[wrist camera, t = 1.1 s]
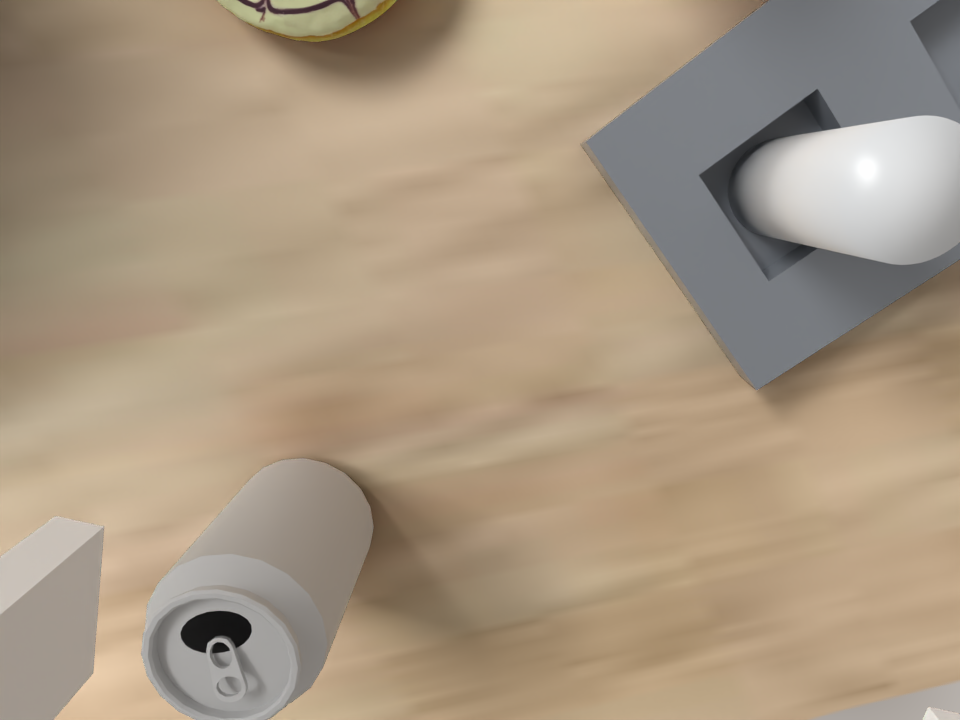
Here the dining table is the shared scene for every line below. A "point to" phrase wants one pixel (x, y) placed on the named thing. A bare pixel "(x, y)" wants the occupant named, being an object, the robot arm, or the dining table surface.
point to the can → (259, 594)
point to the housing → (763, 116)
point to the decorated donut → (308, 16)
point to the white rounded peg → (857, 189)
